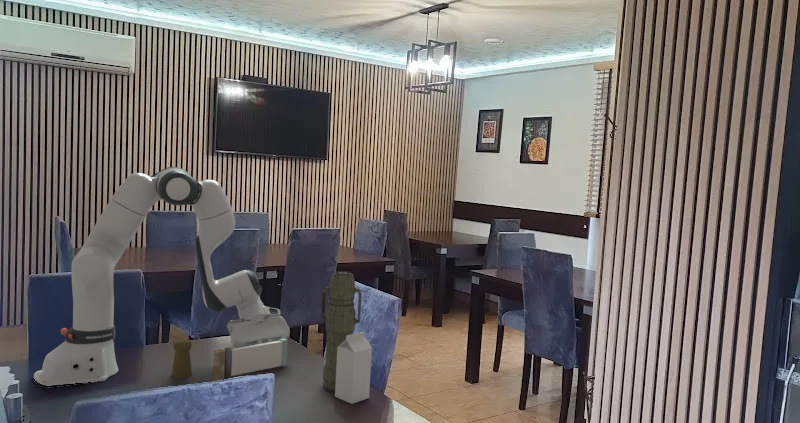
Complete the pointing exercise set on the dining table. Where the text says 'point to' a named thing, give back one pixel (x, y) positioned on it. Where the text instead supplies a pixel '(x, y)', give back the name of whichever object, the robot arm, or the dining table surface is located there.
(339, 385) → the milk carton
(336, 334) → the thermos
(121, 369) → the dining table surface
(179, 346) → the cork
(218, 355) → the gate post
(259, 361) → the gate
